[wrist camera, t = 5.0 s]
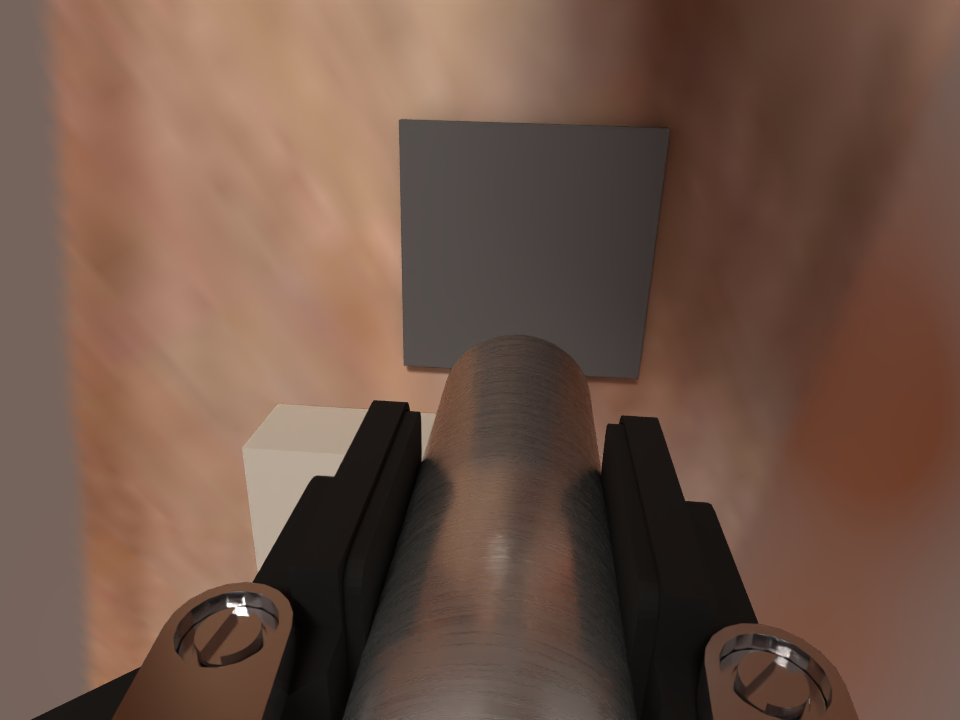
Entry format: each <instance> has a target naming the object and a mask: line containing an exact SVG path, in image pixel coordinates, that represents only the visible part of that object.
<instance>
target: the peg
mask: <svg viewBox="0 0 960 720" xmlns="http://www.w3.org/2000/svg"><path fill="white" fill-rule="evenodd" d="M342 720H637V715H636V708H635V701H634V694H633V687H632V680H631V675H630V672H629V667H628V660H627V653H626V646H625V639H624V632H623V625H622V618H621V611H620V604H619V597H618V590H617V583H616V576H615V569H614V562H613V555H612V548H611V541H610V533H609V526H608V519H607V512H606V505H605V498H604V491H603V484H602V477H601V466H600V459H599V452H598V445H597V438H596V431H595V424H594V418H593V411H592V404H591V397H590V390H589V386H588V383H587V380H586V378H585V375H584V373H583V372H582V370H581V368H580V367H579V365H578V364H577V363H576V362H575V360H574V359H573V358H572V357H571V356H570V355H569V354H568V353H566V352H565V351H564V350H562V349H561V348H560V347H558V346H556V345H554V344H553V343H551V342H549V341H546V340H543V339H541V338H537V337H533V336H527V335H504V336H498V337H494V338H490V339H488V340H485V341H483V342H481V343H479V344H477V345H475V346H474V347H472V348H471V349H469V350H468V351H467V352H465V353H464V354H463V355H462V356H461V357H460V358H459V360H458V361H457V362H456V363H455V365H454V366H453V368H452V370H451V371H450V373H449V376H448V378H447V381H446V384H445V387H444V390H443V394H442V397H441V400H440V403H439V407H438V410H437V413H436V416H435V420H434V423H433V426H432V429H431V433H430V436H429V439H428V443H427V446H426V449H425V452H424V456H423V459H422V463H421V466H420V470H419V473H418V476H417V480H416V483H415V486H414V489H413V493H412V496H411V499H410V502H409V506H408V509H407V512H406V515H405V519H404V522H403V525H402V528H401V532H400V535H399V538H398V542H397V545H396V548H395V551H394V555H393V558H392V561H391V564H390V568H389V571H388V574H387V577H386V581H385V584H384V587H383V590H382V594H381V597H380V600H379V604H378V607H377V610H376V613H375V617H374V620H373V623H372V626H371V630H370V633H369V636H368V639H367V643H366V646H365V649H364V651H363V654H362V657H361V660H360V664H359V667H358V670H357V673H356V677H355V680H354V683H353V686H352V690H351V693H350V696H349V699H348V703H347V706H346V709H345V712H344V716H343V719H342Z"/></svg>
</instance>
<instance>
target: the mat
mask: <svg viewBox="0 0 960 720" xmlns="http://www.w3.org/2000/svg"><path fill="white" fill-rule="evenodd" d="M669 134H670V128H656V127H625V126H594V125H563V124H532V123H501V122H470V121H439V120H408V119H401V120H399V146H400V196H401V247H402V298H403V348H404V366H422V367H439V368H453V366H454V365H455V363H456V362H457V361H458V360H459V358H460V357H461V356H462V355H463V354H464V353H465V352H467V351H468V350H469V349H471V348H472V347H474V346H475V345H477V344H479V343H481V342H483V341H485V340H488V339H490V338H494V337H498V336H504V335H527V336H533V337H537V338H541V339H543V340H546V341H549V342H551V343H553V344H554V345H556V346H558V347H560V348H561V349H562V350H564V351H565V352H566V353H568V354H569V355H570V356H571V357H572V358H573V359H574V360H575V362H576V363H577V364H578V365H579V367H580V368H581V370H582V372H583V373H584V375H585V376H598V377H615V378H633V379H638V375H639V368H640V360H641V352H642V344H643V336H644V329H645V321H646V313H647V305H648V298H649V290H650V282H651V274H652V266H653V259H654V251H655V243H656V235H657V227H658V220H659V212H660V204H661V196H662V189H663V181H664V173H665V165H666V157H667V150H668V142H669Z"/></svg>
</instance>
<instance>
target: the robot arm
mask: <svg viewBox="0 0 960 720" xmlns="http://www.w3.org/2000/svg"><path fill="white" fill-rule="evenodd" d="M421 463H422V430H421V413H420V412H414V411H410V408H409V404H408V402H394V401H377V400H374V401H373V402H372V404H371V406H370V408H369V409H368V411H367V413H366V415H365V417H364V419H363V421H362V423H361V425H360V427H359V429H358V431H357V433H356V435H355V437H354V439H353V441H352V443H351V445H350V447H349V449H348V451H347V453H346V455H345V456H344V458H343V460H342V462H341V464H340V466H339V468H338V470H337V472H336V474H335V476H334V477H333V476H319V475H317V476H314V477H313V478H312V479H311V480H310V482H309V483H308V485H307V487H306V489H305V490H304V492H303V494H302V496H301V497H300V499H299V501H298V503H297V505H296V506H295V508H294V510H293V512H292V513H291V515H290V517H289V519H288V520H287V522H286V524H285V526H284V528H283V529H282V531H281V533H280V535H279V536H278V538H277V540H276V542H275V544H274V545H273V547H272V549H271V551H270V552H269V554H268V556H267V558H266V559H265V561H264V563H263V565H262V567H261V568H260V570H259V572H258V574H257V575H256V577H255V579H254V581H253V582H252V583H251V582H243V583H232V584H226V585H223V586H219V587H216V588H212V589H209V590H207V591H205V592H203V593H201V594H199V595H197V596H195V597H193V598H191V599H190V600H188V601H187V602H186V603H185V604H183V605H182V606H181V607H180V608H178V609H177V610H176V611H175V612H174V613H173V614H172V616H171V617H170V618H169V620H168V621H167V622H166V623H165V625H164V626H163V628H162V630H161V632H160V633H159V635H158V637H157V639H156V641H155V642H154V644H153V646H152V648H151V650H150V651H149V653H148V655H147V657H146V659H145V660H144V662H143V664H142V666H141V667H139V668H137V669H135V670H133V671H131V672H129V673H127V674H125V675H123V676H121V677H119V678H116V679H114V680H112V681H110V682H108V683H106V684H104V685H102V686H100V687H98V688H96V689H94V690H92V691H90V692H87V693H85V694H83V695H81V696H79V697H77V698H75V699H73V700H71V701H69V702H67V703H65V704H63V705H61V706H58V707H56V708H54V709H52V710H50V711H48V712H46V713H44V714H42V715H40V716H38V717H36V718H34V719H32V720H342V719H343V716H344V712H345V709H346V706H347V703H348V699H349V696H350V693H351V690H352V686H353V683H354V680H355V677H356V673H357V670H358V667H359V664H360V660H361V657H362V654H363V651H364V649H365V646H366V643H367V639H368V636H369V633H370V630H371V626H372V623H373V620H374V617H375V613H376V610H377V607H378V604H379V600H380V597H381V594H382V590H383V587H384V584H385V581H386V577H387V574H388V571H389V568H390V564H391V561H392V558H393V555H394V551H395V548H396V545H397V542H398V538H399V535H400V532H401V528H402V525H403V522H404V519H405V515H406V512H407V509H408V506H409V502H410V499H411V496H412V493H413V489H414V486H415V483H416V480H417V476H418V473H419V470H420V466H421ZM601 477H602V484H603V491H604V498H605V505H606V512H607V519H608V526H609V533H610V541H611V548H612V555H613V562H614V569H615V576H616V583H617V590H618V597H619V604H620V611H621V618H622V625H623V632H624V639H625V646H626V653H627V660H628V667H629V672H630V675H631V680H632V687H633V694H634V701H635V708H636V715H637V720H859V719H858V716H857V713H856V710H855V708H854V706H853V703H852V700H851V697H850V695H849V692H848V690H847V687H846V685H845V683H844V681H843V680H842V678H841V676H840V674H839V672H838V671H837V669H836V667H835V666H834V665H833V664H832V663H831V662H830V661H829V660H828V659H827V658H826V657H825V656H824V655H823V654H822V653H821V652H820V651H819V650H817V649H816V648H815V647H813V646H812V645H810V644H809V643H807V642H806V641H805V640H803V639H801V638H799V637H797V636H795V635H793V634H791V633H789V632H786V631H784V630H782V629H778V628H775V627H770V626H767V625H762V624H758V621H757V619H756V616H755V613H754V611H753V608H752V606H751V603H750V601H749V598H748V595H747V593H746V590H745V588H744V585H743V582H742V580H741V577H740V575H739V572H738V570H737V567H736V564H735V562H734V559H733V557H732V554H731V552H730V549H729V546H728V544H727V541H726V539H725V536H724V533H723V531H722V528H721V526H720V523H719V521H718V518H717V515H716V513H715V511H714V509H713V507H712V505H711V504H709V503H705V502H691V501H685V499H684V496H683V493H682V490H681V487H680V484H679V481H678V478H677V475H676V472H675V469H674V466H673V463H672V460H671V457H670V454H669V451H668V448H667V444H666V441H665V438H664V435H663V432H662V429H661V426H660V423H659V420H658V418H653V417H637V416H621V418H620V422H619V424H608V425H607V428H606V435H605V444H604V453H603V461H602V470H601Z"/></svg>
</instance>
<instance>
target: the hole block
mask: <svg viewBox="0 0 960 720" xmlns="http://www.w3.org/2000/svg"><path fill="white" fill-rule="evenodd" d="M367 411H368V409H353V408H336V407H320V406H304V405H288V404H277V405H276V407H275V408H274V409H273V410H272V412H271V413H270V414H269V415H268V416H267V418H266V419H265V420H264V421H263V423H262V424H261V425H260V426H259V428H258V429H257V430H256V431H255V432H254V434H253V435H252V436H251V437H250V439H249V440H248V441H247V442H246V443H245V445H244V446H243V447H242V452H243V459H244V467H245V475H246V483H247V491H248V498H249V506H250V514H251V522H252V530H253V537H254V545H255V553H256V561H257V569H258V572H259V570H260V568H261V567H262V565H263V563H264V561H265V559H266V558H267V556H268V554H269V552H270V551H271V549H272V547H273V545H274V544H275V542H276V540H277V538H278V536H279V535H280V533H281V531H282V529H283V528H284V526H285V524H286V522H287V520H288V519H289V517H290V515H291V513H292V512H293V510H294V508H295V506H296V505H297V503H298V501H299V499H300V497H301V496H302V494H303V492H304V490H305V489H306V487H307V485H308V483H309V482H310V480H311V479H312V478H313V477H314V476H317V475H319V476H333V477H334V476H335V474H336V472H337V470H338V468H339V466H340V464H341V462H342V460H343V458H344V456H345V455H346V453H347V451H348V449H349V447H350V445H351V443H352V441H353V439H354V437H355V435H356V433H357V431H358V429H359V427H360V425H361V423H362V421H363V419H364V417H365V415H366V413H367ZM435 416H436V414H434V413H421V430H422V459H423V456H424V452H425V449H426V446H427V443H428V439H429V436H430V433H431V429H432V426H433V423H434V420H435Z"/></svg>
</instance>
